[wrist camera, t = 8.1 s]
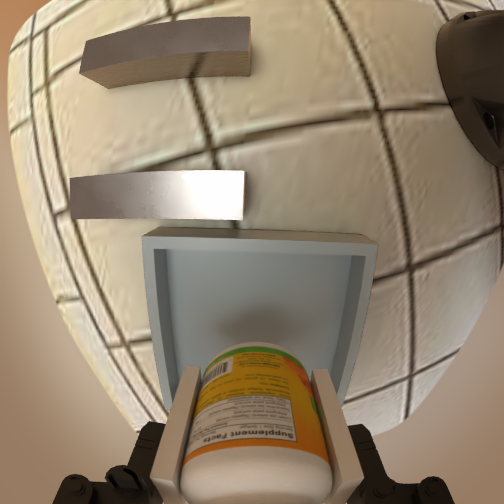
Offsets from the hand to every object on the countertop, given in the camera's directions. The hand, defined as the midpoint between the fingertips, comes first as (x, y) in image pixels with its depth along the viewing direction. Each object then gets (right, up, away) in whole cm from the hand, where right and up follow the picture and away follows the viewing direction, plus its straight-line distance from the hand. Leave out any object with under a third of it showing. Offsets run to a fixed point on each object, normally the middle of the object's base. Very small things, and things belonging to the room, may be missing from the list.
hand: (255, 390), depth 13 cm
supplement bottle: (0, 0, +1) cm, 1 cm away
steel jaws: (-5, +15, +3) cm, 16 cm away
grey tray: (0, +2, +7) cm, 7 cm away
